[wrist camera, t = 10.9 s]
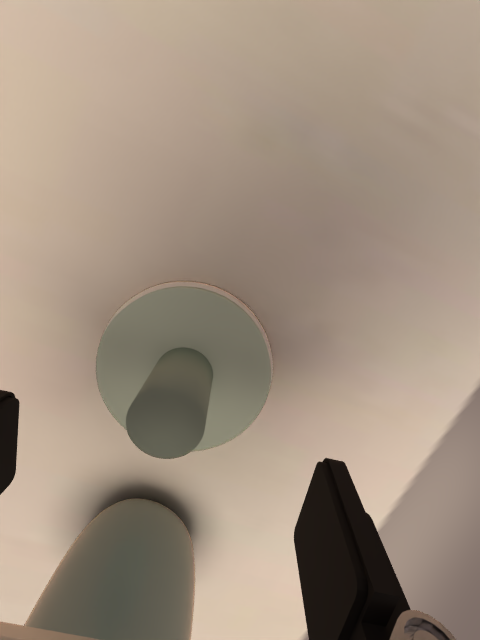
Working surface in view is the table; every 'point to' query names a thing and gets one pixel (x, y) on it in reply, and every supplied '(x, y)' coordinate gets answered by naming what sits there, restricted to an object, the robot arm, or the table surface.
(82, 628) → the cup
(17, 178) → the table surface
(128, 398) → the lid
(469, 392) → the table surface
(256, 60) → the table surface
